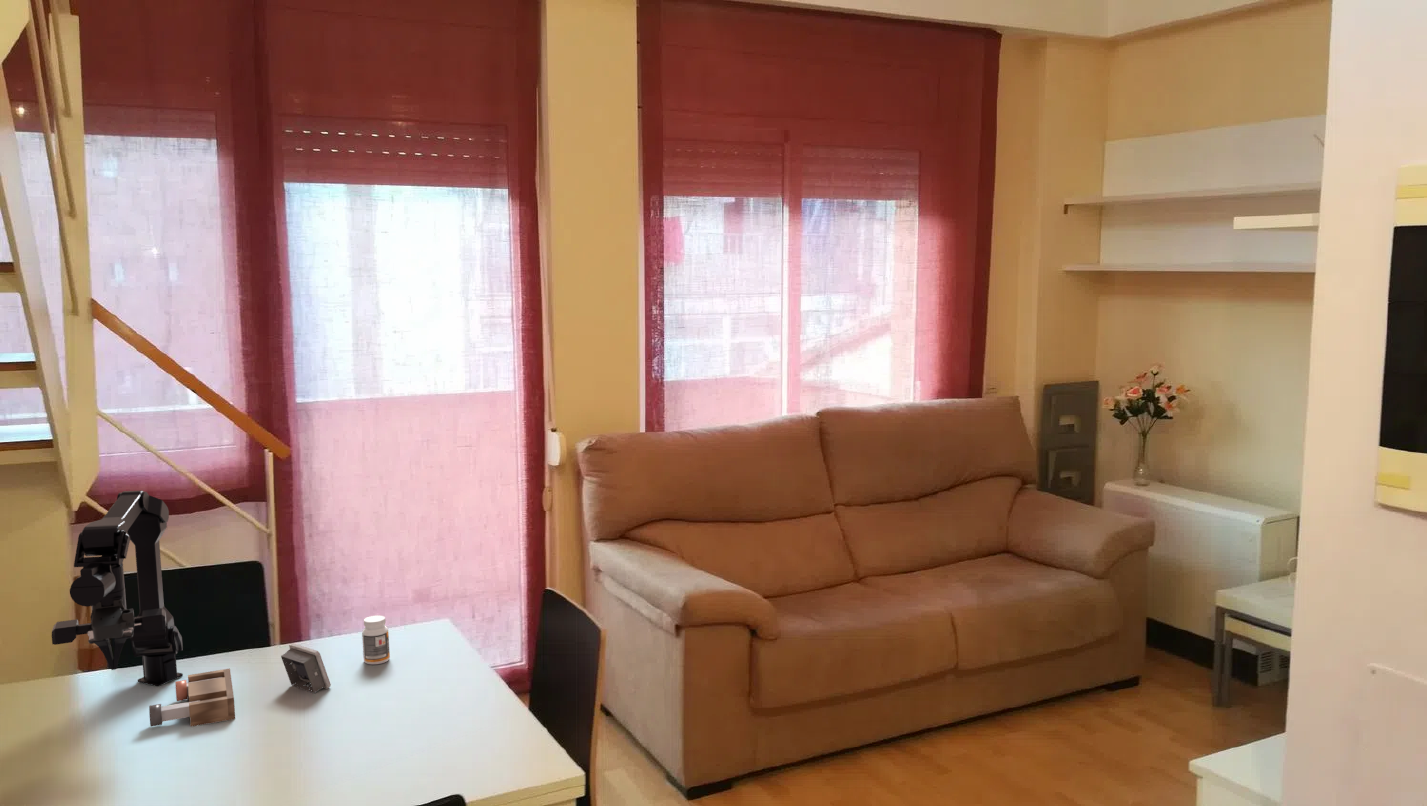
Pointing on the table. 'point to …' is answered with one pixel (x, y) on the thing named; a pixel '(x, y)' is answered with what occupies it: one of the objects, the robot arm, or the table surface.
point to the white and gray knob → (168, 712)
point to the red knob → (183, 689)
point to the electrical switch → (305, 668)
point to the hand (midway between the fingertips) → (114, 669)
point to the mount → (211, 697)
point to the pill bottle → (375, 640)
